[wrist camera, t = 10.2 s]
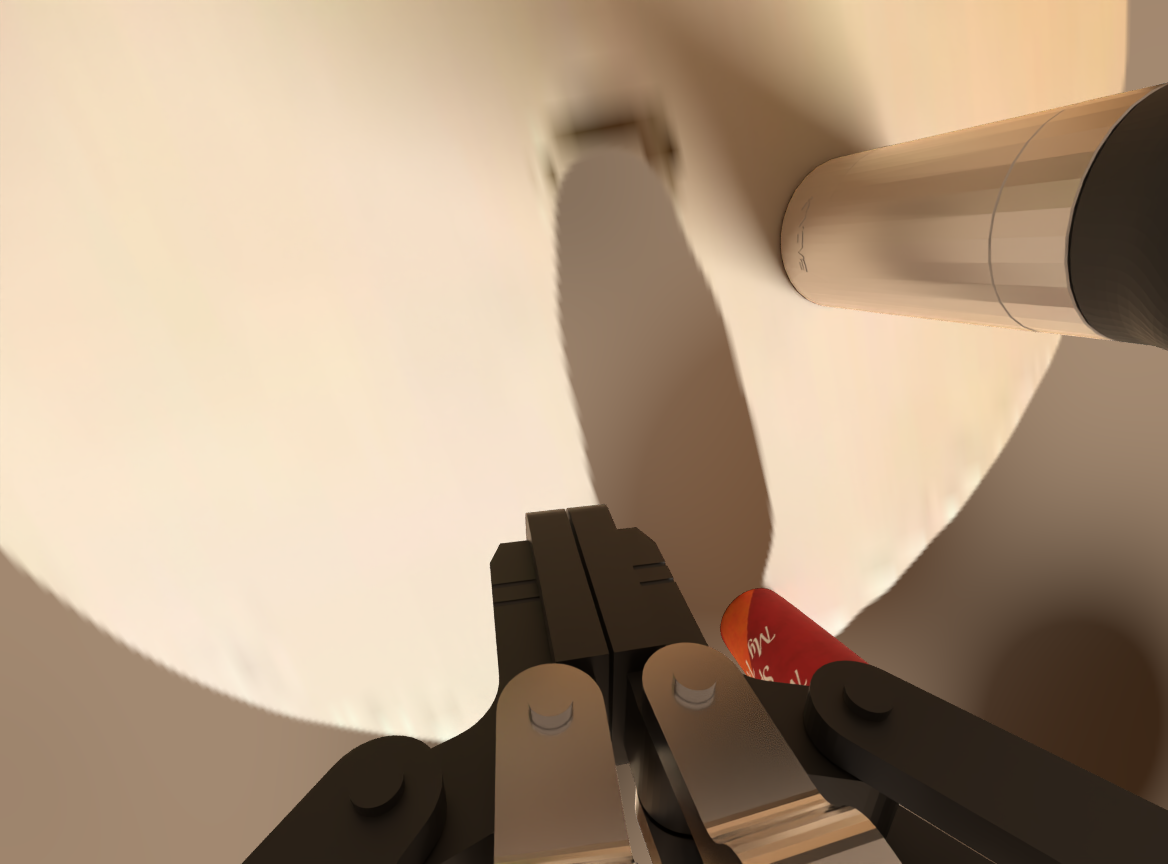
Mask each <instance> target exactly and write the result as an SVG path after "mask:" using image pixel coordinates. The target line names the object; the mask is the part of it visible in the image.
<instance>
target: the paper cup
mask: <svg viewBox="0 0 1168 864" xmlns="http://www.w3.org/2000/svg"><path fill="white" fill-rule="evenodd" d="M720 632H721V636H722V639H723V641H724V643H725V644H726V646H727V648H728V649H729V650H730V652H731V654H732V655H733V656H734V658H735V659H736V661H737V662H738V664H739V665H740V666H741V668H742V669H743V671H744V672H745V673H746V675H747V676H749V677H753V678H756V679H760V680H766V681H773V682H781V683H790V684H798V685H806V686H810V681H811V679H812V676H813V674H814V673H815V672H816V671H817V669H819V668H820V667H822V666H823V665H825V664H828V663H830V662H835V661H844V660H846V661H856V662H862V663H866V664H868V663H867V662H865V661H864V660H863V659H861V658H860V657H859V656H858V655H856V654H855V653H854V652H853V651H851V650H850V649H849V648H848V647H846V646H845V645H844V644H842V643H841V642H840V641H838V640H837V639H836V638H835V637H833V636H832V635H831V634H829V633H828V632H827V631H826V630H824V629H823V628H822V627H820V626H819V625H818V624H817V623H815V622H814V621H813V620H811V619H810V618H809V617H808V616H806V615H805V614H804V613H802V612H801V611H800V610H798V609H797V608H796V607H794V606H793V605H792V604H790V603H789V602H788V601H786V600H785V599H784V598H782V597H781V596H779V595H778V594H777V593H775V592H773V591H771V590H769V589H765V588H757V589H752V590H749V591H747V592H744V593H743V594H741V595H739V596H738V597H737V598H736V599H734V600H733V601H732V602H731V604H730V605H729V606H728V608H727V609H726V611H725V613H724V615H723V617H722V621H721V626H720Z"/></svg>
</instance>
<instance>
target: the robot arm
mask: <svg viewBox="0 0 1168 864" xmlns="http://www.w3.org/2000/svg"><path fill="white" fill-rule="evenodd" d="M781 254H782V259H783V263H784V268H785V270H786V272H787V275H788V277H789V279H790V281H791V283H792V284H793V285H794V287H795V288H796V289H797V291H798V292H799V293H800V294H801V295H803V296H804V297H805V298H806V299H807V300H809V301H811V302H814V303H816V304H818V305H822V306H828V307H835V308H843V309H851V310H860V311H867V312H874V313H882V314H891V315H899V316H908V317H916V318H924V319H933V320H941V321H949V322H958V323H966V324H975V325H983V326H991V327H1000V328H1008V329H1016V330H1025V331H1033V332H1045V333H1053V334H1062V335H1070V336H1079V337H1088V338H1096V339H1104V340H1112V341H1121V342H1129V343H1137V344H1144V345H1152V346H1156V347H1159V348H1163V349H1165V350H1168V82H1167V83H1163V84H1159V85H1155V86H1150V87H1146V88H1141V89H1137V90H1132V91H1128V92H1123V93H1119V94H1115V95H1110V96H1106V97H1101V98H1097V99H1093V100H1088V101H1084V102H1081V103H1077V104H1072V105H1068V106H1063V107H1059V108H1055V109H1050V110H1046V111H1041V112H1037V113H1033V114H1028V115H1024V116H1019V117H1015V118H1010V119H1006V120H1002V121H997V122H993V123H988V124H984V125H979V126H975V127H971V128H966V129H962V130H957V131H953V132H949V133H944V134H940V135H935V136H931V137H926V138H922V139H918V140H913V141H909V142H904V143H900V144H895V145H891V146H885V147H881V148H877V149H872V150H868V151H864V152H859V153H855V154H851V155H847V156H842V157H839V158H835V159H831V160H829V161H827V162H825V163H823V164H821V165H820V166H818V167H817V168H815V169H814V170H813V171H812V172H811V173H810V174H808V175H807V176H806V177H805V179H804V180H803V181H802V182H801V184H800V185H799V186H798V188H797V189H796V191H795V192H794V194H793V196H792V198H791V200H790V202H789V204H788V207H787V210H786V213H785V216H784V219H783V225H782V232H781ZM525 519H526V539H527V541H518V542H510V543H502V544H500V545H499V547H498V549H497V551H496V553H495V554H494V556H493V558H492V560H491V562H490V571H491V583H492V595H493V607H494V619H495V631H496V644H497V656H498V668H499V687H498V692H497V695H496V697H495V700H494V702H493V704H492V705H491V707H490V709H489V710H488V711H487V712H486V714H485V715H484V716H483V717H482V718H481V719H480V720H479V721H478V722H477V723H476V724H475V725H473V726H472V727H471V728H469V729H468V730H466V731H465V732H463V733H461V734H459V735H458V736H456V737H454V738H452V739H450V740H447V741H445V742H443V743H441V744H439V745H437V746H435V747H433V748H430V747H428V746H427V745H426V744H425V743H423V742H422V741H420V740H417V739H415V738H412V737H407V736H394V735H393V736H386V737H381V738H377V739H374V740H371V741H368V742H366V743H364V744H362V745H360V746H358V747H356V748H355V749H353V750H351V751H350V752H349V753H348V754H346V755H345V756H343V757H342V758H341V759H340V760H339V761H338V762H337V763H336V764H335V765H334V766H333V767H332V768H331V769H330V770H329V771H328V772H327V773H326V774H325V775H324V776H323V778H322V779H321V780H320V781H319V782H318V783H317V784H316V785H315V786H314V787H313V788H312V789H311V790H310V791H309V793H308V794H307V795H306V796H305V797H304V798H303V799H302V800H301V801H300V802H299V803H298V804H297V805H296V807H294V809H293V810H292V811H291V812H290V813H289V814H288V815H287V816H286V817H285V818H284V819H283V820H282V821H281V822H280V824H279V825H278V826H277V827H276V828H275V829H274V830H273V831H272V832H271V833H270V834H269V835H268V836H267V837H266V838H265V839H264V840H263V842H262V843H261V844H260V845H259V846H258V847H257V848H256V849H255V850H254V851H253V852H252V853H251V854H250V855H249V856H248V857H247V859H246V860H245V861H244V862H243V863H242V864H638V863H635V862H634V859H633V856H632V853H631V848H630V843H629V838H628V832H627V827H626V821H625V815H624V810H623V804H622V798H621V793H620V787H619V782H618V776H617V771H616V765H621V764H627V763H629V764H630V768H631V771H632V775H633V778H634V782H635V785H636V796H635V812H636V817H637V821H638V824H639V826H640V830H641V832H642V835H643V838H644V841H645V844H646V847H647V850H648V853H649V855H650V858H651V861H652V864H995V863H997V864H1168V810H1166V809H1164V808H1162V807H1159V806H1157V805H1155V804H1153V803H1151V802H1149V801H1147V800H1145V799H1143V798H1141V797H1139V796H1137V795H1135V794H1133V793H1131V792H1129V791H1127V790H1125V789H1123V788H1121V787H1119V786H1117V785H1115V784H1113V783H1111V782H1109V781H1107V780H1105V779H1103V778H1101V777H1099V776H1097V775H1095V774H1092V773H1091V772H1088V771H1087V770H1084V769H1082V768H1080V767H1078V766H1076V765H1074V764H1072V763H1070V762H1068V761H1066V760H1064V759H1062V758H1060V757H1058V756H1056V755H1054V754H1052V753H1050V752H1048V751H1046V750H1044V749H1042V748H1040V747H1038V746H1036V745H1034V744H1032V743H1030V742H1028V741H1026V740H1023V739H1022V738H1020V737H1018V736H1015V735H1013V734H1011V733H1009V732H1007V731H1005V730H1003V729H1001V728H999V727H997V726H995V725H993V724H991V723H989V722H987V721H985V720H983V719H981V718H979V717H977V716H975V715H973V714H971V713H969V712H967V711H965V710H963V709H961V708H958V707H957V706H955V705H953V704H951V703H949V702H946V701H944V700H942V699H940V698H938V697H936V696H934V695H932V694H930V693H928V692H926V691H924V690H922V689H920V688H918V687H916V686H914V685H912V684H910V683H908V682H906V681H904V680H902V679H900V678H898V677H896V676H894V675H892V674H890V673H888V672H886V671H884V670H881V669H879V668H877V667H874V666H872V665H869V664H866V663H862V662H856V661H846V660H844V661H835V662H830V663H828V664H825V665H823V666H822V667H820V668H819V669H817V671H816V672H815V673H814V674H813V676H812V679H811V681H810V686H806V685H798V684H790V683H781V682H773V681H766V680H760V679H756V678H753V677H749V676H747V675H744V674H742V673H741V671H740V670H739V668H738V667H737V666H736V665H735V664H734V662H733V661H731V660H730V659H729V658H728V657H727V656H725V655H724V654H723V653H721V652H719V651H717V650H715V649H713V648H711V647H709V646H708V644H707V643H706V641H705V639H704V637H703V635H702V633H701V631H700V629H699V627H698V625H697V623H696V621H695V619H694V617H693V615H692V613H691V612H690V609H689V608H688V606H687V604H686V602H685V600H684V598H683V596H682V594H681V592H680V590H679V588H678V586H677V584H676V582H674V580H673V576H672V574H671V572H670V570H669V568H668V566H666V565H665V561H664V559H663V557H662V555H661V553H660V551H659V549H658V547H657V545H656V543H655V542H654V541H653V540H652V539H650V538H649V537H648V536H647V535H645V534H644V533H643V532H642V531H640V530H639V529H638V528H636V527H634V528H626V529H617V528H616V526H615V524H614V521H613V519H612V517H611V514H610V512H609V510H608V507H607V506H606V505H605V504H601V505H592V506H583V507H574V508H567V509H566V511H565V509H557V510H548V511H539V512H531V513H526V516H525ZM899 804H900V805H902V806H904V807H905V808H907V809H909V810H910V811H912V812H914V813H915V814H917V815H918V816H920V817H922V818H923V819H925V820H927V821H928V822H930V823H931V824H933V825H935V826H936V827H938V828H940V829H941V830H943V831H945V832H946V833H948V834H950V835H951V836H953V837H954V838H956V839H958V840H959V841H961V842H963V843H964V844H966V845H967V846H969V847H971V848H972V849H974V850H976V851H977V852H979V853H981V854H982V855H984V856H986V857H987V858H989V859H990V860H992V861H994V862H995V863H993V862H991V861H989V860H988V859H986V858H984V857H983V856H981V855H979V854H978V853H976V852H974V851H973V850H971V849H970V848H968V847H966V846H965V845H963V844H961V843H960V842H958V841H957V840H955V839H953V838H952V837H950V836H948V835H947V834H945V833H944V832H942V831H940V830H939V829H937V828H935V827H934V826H932V825H931V824H929V823H927V822H926V821H924V820H922V819H921V818H919V817H917V816H916V815H914V814H913V813H911V812H909V811H908V810H906V809H904V808H903V807H901V806H899Z"/></svg>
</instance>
